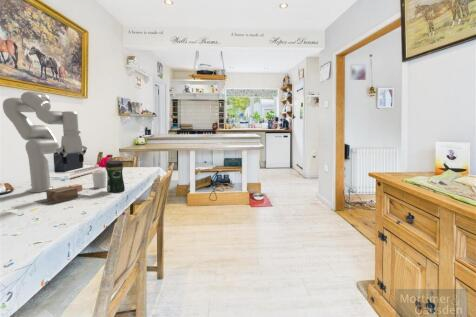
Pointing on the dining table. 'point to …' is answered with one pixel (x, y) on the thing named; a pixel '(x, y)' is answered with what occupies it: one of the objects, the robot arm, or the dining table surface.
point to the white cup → (99, 179)
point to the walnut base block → (62, 194)
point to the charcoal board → (49, 202)
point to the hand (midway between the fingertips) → (73, 162)
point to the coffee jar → (114, 176)
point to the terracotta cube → (79, 187)
